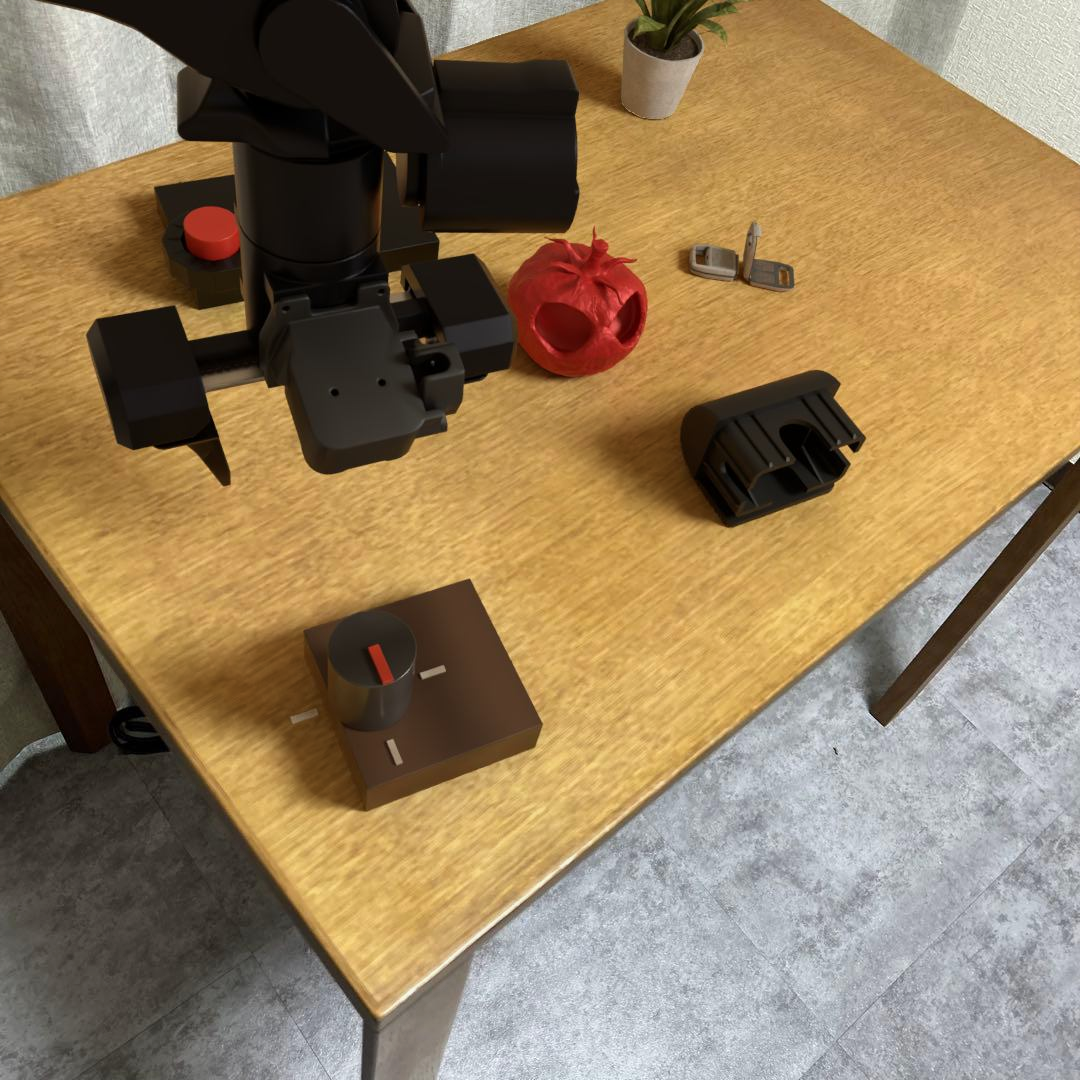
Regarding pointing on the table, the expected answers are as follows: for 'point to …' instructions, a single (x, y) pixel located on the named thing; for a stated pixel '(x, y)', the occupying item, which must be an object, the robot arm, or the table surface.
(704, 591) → the table surface
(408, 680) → the dial knob
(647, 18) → the house plant
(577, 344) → the red hollow tomato
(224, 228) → the button
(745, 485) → the end cap
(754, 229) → the strap clip
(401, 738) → the knob panel
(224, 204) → the black rectangular slab
